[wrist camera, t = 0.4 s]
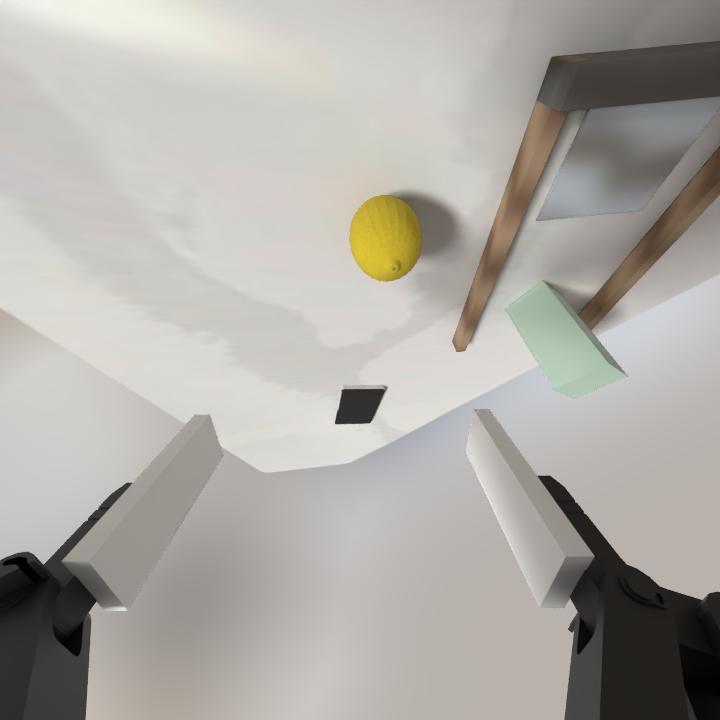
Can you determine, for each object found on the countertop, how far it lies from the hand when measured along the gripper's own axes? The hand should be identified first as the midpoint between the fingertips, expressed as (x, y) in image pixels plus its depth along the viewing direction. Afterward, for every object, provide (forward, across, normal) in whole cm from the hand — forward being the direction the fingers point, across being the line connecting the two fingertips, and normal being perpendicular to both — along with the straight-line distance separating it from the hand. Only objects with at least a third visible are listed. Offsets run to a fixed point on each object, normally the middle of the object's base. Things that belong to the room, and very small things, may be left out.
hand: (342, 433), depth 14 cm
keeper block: (+24, +23, 0) cm, 33 cm away
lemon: (+16, +3, +11) cm, 20 cm away
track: (+20, +23, +7) cm, 31 cm away
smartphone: (+33, 0, -21) cm, 39 cm away
